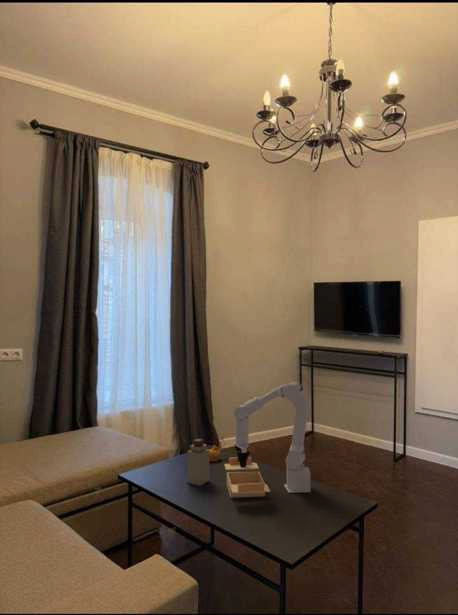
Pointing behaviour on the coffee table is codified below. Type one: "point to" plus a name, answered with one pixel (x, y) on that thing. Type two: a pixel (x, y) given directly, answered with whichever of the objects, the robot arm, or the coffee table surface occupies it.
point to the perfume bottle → (198, 463)
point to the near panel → (249, 488)
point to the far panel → (235, 464)
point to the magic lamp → (215, 451)
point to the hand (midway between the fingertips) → (241, 464)
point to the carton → (244, 482)
